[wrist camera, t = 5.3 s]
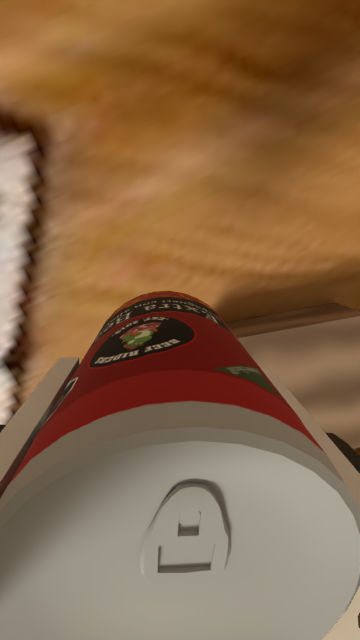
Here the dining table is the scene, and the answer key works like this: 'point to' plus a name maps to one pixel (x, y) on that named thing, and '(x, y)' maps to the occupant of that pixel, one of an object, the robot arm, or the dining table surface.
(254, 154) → the dining table surface
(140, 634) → the canned food
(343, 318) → the brown wooden block
